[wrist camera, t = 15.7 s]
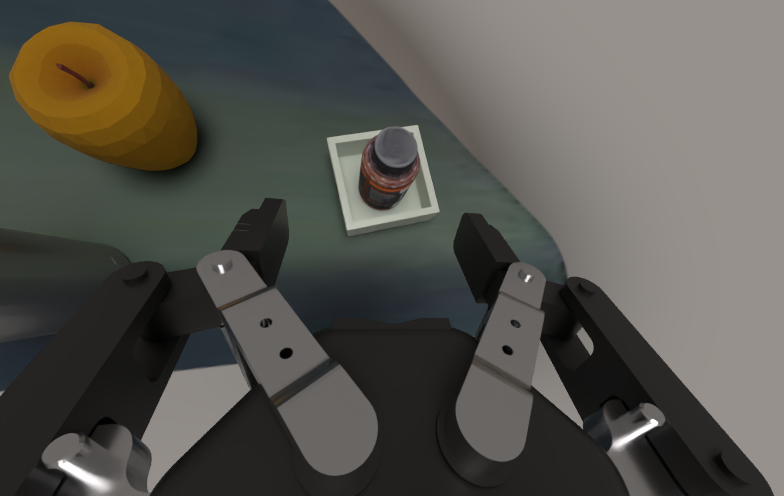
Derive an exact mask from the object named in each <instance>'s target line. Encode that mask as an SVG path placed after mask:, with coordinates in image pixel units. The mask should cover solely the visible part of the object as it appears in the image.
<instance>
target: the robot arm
mask: <svg viewBox="0 0 784 496" xmlns="http://www.w3.org/2000/svg"><path fill="white" fill-rule="evenodd" d="M288 239H289V228H288V218H287V209H286V202H285V200H284V199H272V198H265V199H264V201H263V203H262V205H261V207H260V209H251V210H249V211H248V212H246V213H245V214H243V215H242V216H241V218H240V220H239V221H238V224H237V225H236V226H235V228H234V231H232V233H231V234H230V236H229V238H228V239H227V241H226V243H225V244H224V246H223V247H222V249H221V251H217V252H214V253H211V254H209V255H207V256H205V257H204V258H202V259H201V260H200V261H199V262H198V264H197V267H196V268H191V269H186V270H180V271H174V272H168V273H167V272H166V270H165V268H164V266H163V265H162V264H160V263H157V262H151V261H144V262H137V263H133V264H130V262H129V260H128V259H127V258H126V257H125V256H124V255H123V254H122V253H121V252H119V251H118V250H116V249H114V248H112V247H109V246H107V245H102V244H96V243H90V242H84V241H78V240H72V239H66V238H60V237H54V236H47V235H41V234H35V233H28V232H22V231H15V230H9V229H3V228H0V343H3V342H9V341H14V340H20V339H26V338H32V337H38V336H44V335H50V334H56V333H57V334H56V335H55V336H54V337H53V338H52V339H51V340H50V342H49V343H48V344H47V345H46V346H45V347H44V348H43V349H42V350H41V352H40V353H39V354H38V355H37V356H36V357H35V358H34V359H33V360H32V362H31V363H30V364H29V365H28V366H27V367H26V368H25V369H24V370H23V372H22V373H21V374H20V375H19V376H18V377H17V378H16V379H15V380H14V382H13V383H12V384H11V385H10V386H9V387H8V388H7V389H6V390H5V392H4V393H3V394H2V395H1V396H0V496H774V495H773V492H772V490H771V488H770V486H769V484H768V483H767V481H766V480H765V478H764V477H763V475H762V474H761V473H760V472H759V470H758V469H757V468H756V467H755V466H754V465H753V463H752V462H751V461H750V460H749V459H748V458H747V457H746V455H745V454H744V453H743V452H742V451H741V450H740V448H739V447H738V446H737V445H736V444H735V443H734V442H733V440H732V439H731V438H730V437H729V436H728V435H727V434H726V432H725V431H724V430H723V429H722V428H721V427H720V425H719V424H718V423H717V422H716V421H715V420H714V419H713V417H712V416H711V415H710V414H709V413H708V412H707V411H706V409H705V408H704V407H703V406H702V405H701V404H700V402H699V401H698V400H697V399H696V398H695V397H694V395H693V394H692V393H691V392H690V391H689V390H688V388H687V387H686V386H685V385H684V384H683V383H682V382H681V380H680V379H679V378H678V377H677V376H676V375H675V374H674V372H672V370H671V369H670V368H669V367H668V365H667V364H666V363H665V362H664V361H663V360H662V359H661V357H660V356H659V355H658V354H657V353H656V352H655V350H654V349H653V348H652V347H651V346H650V345H649V344H648V342H647V341H646V340H645V339H644V338H643V337H642V335H641V334H640V333H639V332H638V331H637V330H636V329H635V327H634V326H633V325H632V324H631V323H630V322H629V321H628V319H627V318H626V317H625V316H624V315H623V314H622V312H621V311H620V310H619V309H618V308H617V307H616V306H615V304H614V303H613V302H612V301H611V300H610V299H609V297H608V296H607V295H606V294H605V293H604V292H603V291H602V290H601V289H600V288H599V287H598V286H597V285H595V284H594V283H592V282H590V281H589V280H586V279H583V278H580V277H570V278H568V279H567V281H566V282H565V283H564V285H561V284H557V283H553V282H549V281H546V279H545V277H544V275H543V274H542V273H541V272H540V271H539V270H538V269H536V268H535V267H533V266H531V265H529V264H526V263H521V262H520V261H519V259H518V258H517V256H516V255H515V254H514V252H513V251H512V249H511V248H510V246H508V244H507V242H506V241H505V240H504V238H503V236H502V235H501V234H500V232H499V231H498V230H497V229H495V228H494V227H493V226H491V225H489V224H488V223H487V221H486V220H485V219H484V217H483V216H482V214H476V213H464V214H463V216H462V218H461V221H460V224H459V227H458V230H457V233H456V236H455V239H454V245H453V248H454V253H455V255H456V257H457V260H458V262H459V264H460V266H461V269H462V271H463V273H464V276H465V278H466V280H467V283H468V285H469V287H470V289H471V292H472V294H473V296H474V299H475V301H476V303H487V304H488V308H487V310H486V312H485V314H484V317H483V319H482V321H481V324H480V326H479V328H478V330H477V333H476V335H475V337H473V336H471V335H469V334H468V333H465V332H463V331H461V330H458V329H455V328H451V325H450V322H449V318H420V319H416V320H411V321H407V322H403V323H398V324H389V323H384V322H380V321H375V320H371V319H366V318H333V326H332V327H329V328H325V329H323V330H320V331H318V332H315V333H313V334H311V333H310V332H309V330H308V329H307V328H306V327H305V325H304V324H303V323H302V321H301V320H300V319H299V317H298V316H297V315H296V314H295V312H294V311H293V310H292V308H291V307H290V306H289V304H288V303H287V302H286V300H285V299H284V298H283V297H282V295H281V294H280V293H279V291H278V290H277V289H276V288H275V287H274V285H275V282H276V279H277V276H278V273H279V269H280V266H281V263H282V260H283V257H284V254H285V251H286V248H287V244H288ZM217 326H219V328H220V330H221V332H222V334H223V336H224V338H225V339H226V341H227V343H228V345H229V347H230V349H231V351H232V353H233V355H234V357H235V359H236V361H237V363H238V365H239V367H240V369H241V371H242V373H243V376H244V378H245V380H246V382H247V384H248V386H249V388H250V391H249V392H248V393H247V394H246V395H245V396H244V397H243V398H242V399H241V400H240V401H239V402H238V403H237V404H236V405H235V406H234V407H233V408H231V409H230V410H229V412H227V413H226V414H225V415H224V416H223V417H222V418H221V419H220V420H219V421H218V422H217V423H216V424H215V425H214V426H213V427H212V428H211V429H210V430H209V431H208V432H207V433H206V434H205V435H204V436H203V437H202V438H201V439H200V440H199V441H197V442H196V443H195V444H194V445H193V446H192V447H191V448H190V449H189V450H188V451H187V452H186V453H185V454H184V455H183V456H182V457H181V458H180V459H179V460H178V461H177V462H176V463H175V464H174V465H173V466H172V467H171V468H170V469H169V470H168V471H167V472H166V473H165V475H164V476H163V477H162V478H161V480H160V481H159V482H158V483H157V485H156V486H155V488H154V489H153V491H152V492H151V493H148V490H147V478H148V474H149V470H150V467H151V460H152V458H151V452H150V450H149V448H148V447H147V446H146V445H145V444H144V443H143V442H142V441H141V439H142V437H143V434H144V432H145V430H146V428H147V426H148V424H149V422H150V419H151V417H152V415H153V413H154V411H155V409H156V406H157V404H158V402H159V400H160V398H161V396H162V394H163V392H164V389H165V387H166V385H167V383H168V380H169V378H170V377H171V374H172V372H173V370H174V368H175V366H176V364H177V362H178V359H179V357H180V355H181V353H182V351H183V349H184V347H185V344H186V342H187V340H188V338H189V336H190V334H191V333H193V332H197V331H201V330H205V329H209V328H213V327H217ZM582 327H583V328H584V329H585V331H586V332H587V334H588V335H589V337H590V338H591V340H592V342H593V345H594V350H593V353H592V355H591V356H590V354H589V353H588V351H587V350H586V348H585V347H584V345H583V344H582V342H581V341H580V339H579V338H578V336H577V332H578V331H579V330H580V329H581V328H582ZM539 341H541V343H542V344H543V346H544V348H545V350H546V352H547V354H548V356H549V358H550V360H551V361H552V364H553V365H554V367H555V369H556V371H557V373H558V375H559V377H560V379H561V381H562V382H563V384H564V386H565V388H566V390H567V392H568V394H569V396H570V398H571V400H572V402H573V403H574V405H575V407H576V409H577V411H578V413H579V415H580V417H581V419H582V421H583V429H582V428H581V427H580V426H578V425H577V424H576V423H575V422H574V421H572V420H571V419H570V418H569V417H568V416H567V415H565V414H564V413H563V412H562V411H561V410H560V409H558V408H557V407H556V406H555V405H554V404H553V403H551V402H550V401H549V400H548V399H547V398H546V397H544V396H543V395H542V394H541V393H540V392H539V391H537V390H536V389H535V388H534V387H533V386H532V385H531V383H532V377H533V373H534V368H535V362H536V357H537V352H538V347H539Z"/></svg>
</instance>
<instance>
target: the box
mask: <svg viewBox="0 0 784 496" xmlns="http://www.w3.org/2000/svg"><path fill="white" fill-rule="evenodd" d="M402 128H404V129H406V130H408V131H409V132H410V133H411V134H412V135H413V136H414V138H415V139H416V142H417V146H418V153H419V157H420V168H419V172H418V174H417V176H416V178H415V180H414V181H413V183H412V184H411V186H410V187H409V189H408V190H407V192H406V194H405V195H404V197H403V198H402V200H401V201H400V202H399V203H398V204H397V205H396V206H395V207H393V208H391V209H388V210H377V209H374V208H372V207H370V206H368V205H367V204H366V203H365V202H364V201H363V199H362V198H361V195H360V193H359V186H358V185H359V175H360V166H361V158H362V153H363V150H364V148H365V146H366V144H367V143H368V142H369V140H370V139H372V138H373V137H375V136H376V135H378V134H379V133H380V132H381V131H382V130H379V131H372V132H365V133H358V134H350V135H343V136H336V137H329V138H327V142H328V148H329V155H330V159H331V164H332V168H333V173H334V178H335V182H336V187H337V191H338V196H339V200H340V205H341V210H342V214H343V219H344V223H345V228H346V232H347V237H350V236H355V235H360V234H365V233H370V232H374V231H379V230H384V229H389V228H394V227H399V226H404V225H409V224H414V223H419V222H423V221H428V220H430V219H431V218H433V217H434V216H435V215H436V214H438V213H439V208H438V204H437V200H436V196H435V192H434V188H433V184H432V180H431V176H430V172H429V168H428V164H427V160H426V156H425V152H424V148H423V144H422V140H421V136H420V132H419V128H418V125H415V126H407V127H402Z"/></svg>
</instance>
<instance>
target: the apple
mask: <svg viewBox="0 0 784 496" xmlns="http://www.w3.org/2000/svg"><path fill="white" fill-rule="evenodd" d="M9 79H10V82H11V85H12V88H13V92H14V95H15V98H16V100H17V101H18V102H19V103H20V105H21V106H22V107H23V108H24V110H25V111H26V112H27V113H28V115H29V116H30V117H31V118H32V120H33V121H34V122H35V123H36V124H38V125H39V126H40V127H41V128H42V129H43V130H44V131H45V132H47V133H48V134H49V135H50V136H51V137H53V138H54V139H56V140H58V141H59V142H61V143H63V144H65V145H67V146H69V147H71V148H73V149H75V150H77V151H79V152H81V153H84V154H86V155H89V156H91V157H94V158H96V159H99V160H102V161H105V162H108V163H112V164H116V165H119V166H123V167H129V168H135V169H141V170H146V171H157V170H167V169H173V168H175V167H177V166H179V165H182V164H184V163H186V162H188V161H189V160H190V159H191V157H192V156H193V155H194V153H195V151H196V146H197V127H196V123H195V119H194V116H193V113H192V109H191V107H190V106H189V104H188V102H187V101H186V99H185V97H184V96H183V94H182V93H181V91H180V89H179V88H178V87H177V86H176V84H175V83H174V82H173V81H172V80H171V79H170V77H169V76H168V75H167V74H166V73H165V72H164V71H163V70H162V69H161V68H160V67H159V66H158V65H157V64H156V63H155V62H154V61H153V60H152V59H151V58H150V57H149V56H148V55H147V54H146V53H145V52H143V51H142V50H141V49H140V48H138V47H137V46H136V45H134V44H132V43H131V42H129V41H127V40H125V39H123V38H122V37H120V36H118V35H116V34H115V33H113V32H111V31H109V30H108V29H106V28H104V27H102V26H101V25H99V24H90V23H79V22H67V23H63V24H59V25H54V26H50V27H47V28H46V29H44V30H42V31H41V32H39V33H37V34H36V35H34V36H33V37H32V38H31V39H29V40H28V41H27V42H26V43H25V44H23V45H22V48H21V50H20V52H19V54H18V56H17V59H16V61H15V63H14V65H13V68H12V70H11V72H10V74H9Z"/></svg>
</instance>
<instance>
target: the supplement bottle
mask: <svg viewBox="0 0 784 496" xmlns="http://www.w3.org/2000/svg"><path fill="white" fill-rule="evenodd" d="M419 168H420V157H419V153H418V146H417V142H416V139H415V138H414V136H413V135H412V134H411V133H410V132H409V131H408V130H406V129H404V128H402V127H396V126H394V127H393V126H391V127H387V128H385V129H383V130H382V131H381V132H380V133H379V134H378V135H376V136H375V137H373V138H372V139H370V140H369V142H368V143H367V144H366V146H365V148H364V150H363V153H362V158H361V166H360V175H359V185H358V186H359V193H360V195H361V198H362V199H363V201H364V202H365V203H366V204H367V205H368V206H370V207H372V208H374V209H377V210H388V209H391V208H393V207H395V206H396V205H397V204H398V203H399V202H400V201H401V200H402V198H403V197H404V195H405V194H406V192H407V190H408V189H409V187H410V186H411V184H412V183H413V181H414V180H415V178H416V176H417V174H418V172H419Z"/></svg>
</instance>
